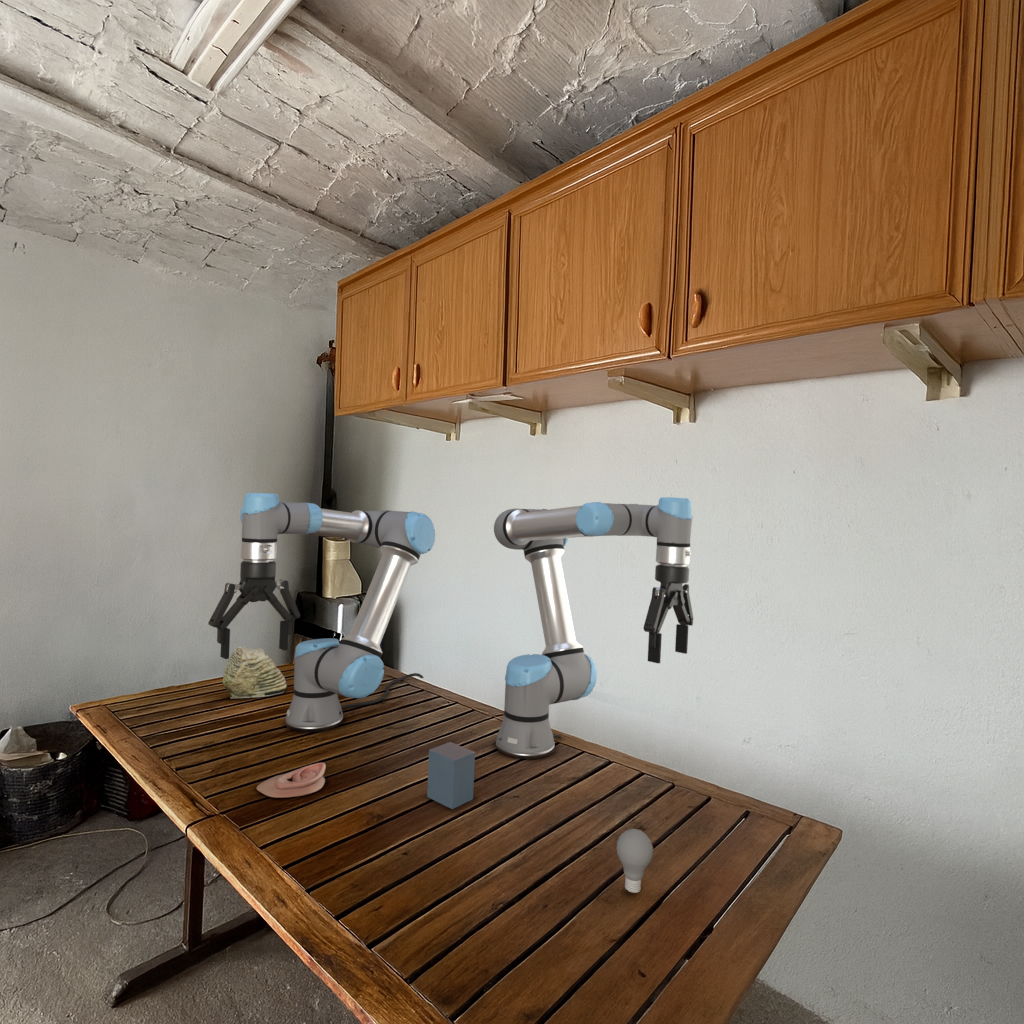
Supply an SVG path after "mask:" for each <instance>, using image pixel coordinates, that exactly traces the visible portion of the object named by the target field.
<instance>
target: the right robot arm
mask: <svg viewBox="0 0 1024 1024" xmlns="http://www.w3.org/2000/svg"><path fill="white" fill-rule="evenodd" d="M693 517H694V516H693V502H692V500H691V499H690V498H687V497H671V496H661V497H660V498H659V499H658V504H656V505H653V504H638V503H612V502H611V503H609V502H601V501H593V502H586V503H583V504H582V505H576V506H566V507H559V508H551V509H547V508H542V509H540V508H539V509H538V508H537V509H535V508H510V509H506V510H504V511H502V512H501V513H499V515H498V516H497V517H496V518H495V520H494V523H493V533H494V537H495V539H496V540H497V542H498V543H499V544H500V545H501V546H503V547H505V548H506V549H510V550H523V555H524V560H526V561H528V562H529V563H530V565H531V570H532V576H533V581H534V587H535V593H536V599H537V604H538V610H539V615H540V621H541V627H542V633H543V638H544V644H545V647H544V649H543V650H542V653H541V654H540V653H539V654H538V653H532V654H529V653H528V654H522V655H521V654H520V655H518V656H515V657H513V658H512V659H510V660H509V661H508V663H507V665H506V670H505V676H504V681H505V686H504V687H505V688H504V709H503V712H504V713H503V719H502V721H501V725H500V727H499V729H498V733H497V735H496V738H495V748H496V750H497V751H498V752H500V753H501V754H503V755H505V756H506V757H507V756H508V757H511V758H515V759H522V760H536V759H542V758H546V757H548V756H550V755H552V754H553V753H554V751H555V739H561V738H562V735H560V734H555V733H553V731H552V727H551V724H550V720H549V719H550V718H549V717H550V706H551V705H556V704H561V703H564V702H565V703H566V702H569V701H578V700H580V699H583V698H586V697H587V696H589V695H590V694H591V693H592V692H593V690H594V688H595V687H596V684H597V679H598V672H597V671H598V670H597V665H596V663H595V662H594V660H593V659H592V657H591V656H590V655H588V654H586V653H585V650H584V646H583V645H582V644H580V643H579V642H578V641H577V638H576V632H575V628H574V621H573V617H572V611H571V607H570V601H569V595H568V590H567V584H566V580H565V575H564V569H563V563H562V559H561V558H562V556H563V555H564V553H565V547H566V546H567V544H568V542H569V539H573V538H587V537H588V538H589V537H590V538H591V537H592V538H593V537H609V536H611V537H612V536H614V537H615V536H618V537H623V536H624V537H652V538H656V547H655V548H656V549H655V562H656V563H657V564H656V565H655V569H654V570H655V571H654V579H655V581H656V582H659V584H660V585H659V587H657V586H653V588H652V591H651V599H650V603H649V605H648V609H647V612H646V615H645V616H646V617H645V620H644V624H643V628H642V629H643V631H644V633H645V632H646V633H648V643H647V644H648V645H647V646H648V647H647V662H650V663H654V664H661V657H662V655H661V654H662V633H661V630H662V627H663V625H664V622H665V620H666V617H667V615H668V612H669V611H670V610H671V609H673V612H674V614H675V618H676V620H677V624H676V625H675V646H674V647H675V648H674V649H675V650H674V652H675V653H679V654H685V655H687V654H688V647H689V646H688V644H689V626H691V627H693V625H694V613H693V607H692V603H691V602H692V601H691V596H690V584H688V583H689V581H690V567H689V566H688V565H689V564H690V561H691V560H690V558H691V556H692V552H691V533H692V524H693V523H692V522H693ZM554 738H555V739H554Z"/></svg>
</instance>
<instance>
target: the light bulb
mask: <svg viewBox="0 0 1024 1024" xmlns="http://www.w3.org/2000/svg"><path fill="white" fill-rule="evenodd" d="M615 849H616V854H617V857H618V859H619V861H620V863H621V865H622V867H623V873H624V874H623V875H624V876H625V878H624V888H625V890H627V891H628V892H630V893H634V894H635V893H639V892H640V891H641V889H642V887H641V886H642V879H643V877H644V875H645V871H646V868H647V867H648V866H649V864H650V863H651V861H652V859H653V855H654V847H653V843H652V841H651V838H649V836H648V835H647V834H646V833H645V832H643V831H642V830H641V829H636V828H629V829H627V830H625V831H623V832H622V833H621V834H620V835H619V837H618V839H617V841H616V847H615Z"/></svg>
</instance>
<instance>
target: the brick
mask: <svg viewBox="0 0 1024 1024" xmlns="http://www.w3.org/2000/svg"><path fill="white" fill-rule="evenodd" d="M475 761H476V752H475V751H474V750H471V749H469V748H467V747H463V746H461V745H459V744H456V743H454V742H451V741H449V742H446V743H444V744H441V745H438V746H435V747H433V748H429V749H428V765H427V766H428V767H427V788H426V790H427V791H426V797H427V798H429V799H431V800H433V801H435V802H436V803H438V804H441V805H443V806H445V807H447V808H449V809H451V810H454V809H456V808H458V807H460V806H462V805H464V804H466V803H469V802H470V801H473V800H474V787H475V785H474V784H475V766H476V765H475V764H476V762H475Z"/></svg>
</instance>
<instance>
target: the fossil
mask: <svg viewBox="0 0 1024 1024" xmlns="http://www.w3.org/2000/svg"><path fill="white" fill-rule="evenodd" d="M222 676H223V677H222V685H223V687H224V688H225V690H226V691H228V693H229V698H230V699H250V698H264V697H271V696H275V695H281V694H284V693H285V691H286V689H287V687H288V686H287V680H286V678H285V676H284V674H283V673H282V672H281V669H279V668H278V667H277V665H276V663H275V662H274V660H273V659H272V658H271V657H270V656H269V655H268V654H267V653H266V652H265V650H264V649H263V648H260V647H258V648H251V647H247V646H246V647H245V646H238V647H237V648H236V649H235V650H233V651H232V653H231V656H229V659H227V663H226V666H225V668H224V671H223V675H222Z"/></svg>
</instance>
